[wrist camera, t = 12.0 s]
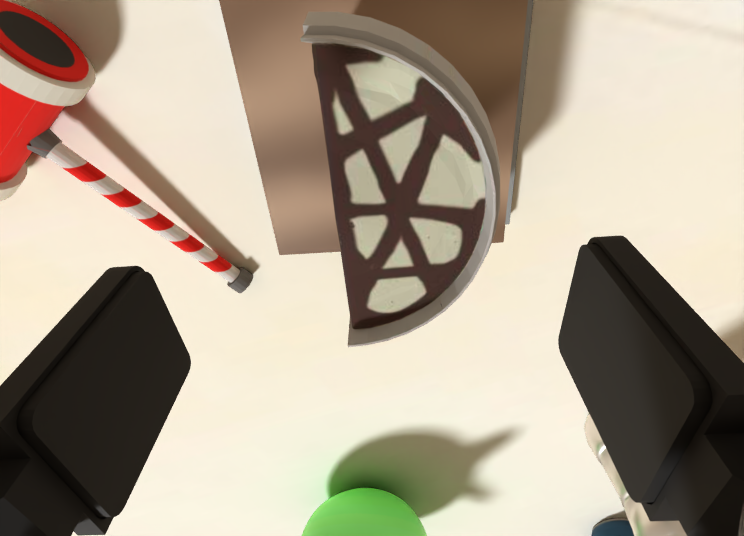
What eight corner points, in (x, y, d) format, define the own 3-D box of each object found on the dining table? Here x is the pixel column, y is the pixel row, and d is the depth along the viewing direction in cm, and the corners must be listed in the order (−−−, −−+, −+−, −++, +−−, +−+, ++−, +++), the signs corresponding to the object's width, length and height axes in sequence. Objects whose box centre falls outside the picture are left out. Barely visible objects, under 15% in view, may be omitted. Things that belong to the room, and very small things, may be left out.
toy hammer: (296, 239, 35) (280, 284, 29) (209, 310, 39) (182, 361, 34) (22, -11, 26) (-73, -12, 20) (-51, 119, 30) (-144, 146, 25)
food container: (461, 233, 26) (498, 350, 17) (360, 239, 26) (349, 356, 18) (470, -9, 19) (538, -9, 11) (334, 4, 19) (296, 14, 11)
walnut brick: (252, -8, 24) (217, -7, 19) (500, -33, 23) (531, -39, 18) (296, 213, 32) (279, 254, 27) (484, 201, 31) (503, 242, 26)
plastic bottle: (656, 407, 44) (820, 660, 28) (603, 439, 47) (722, 683, 31) (616, 382, 42) (767, 637, 26) (563, 417, 46) (667, 664, 29)
